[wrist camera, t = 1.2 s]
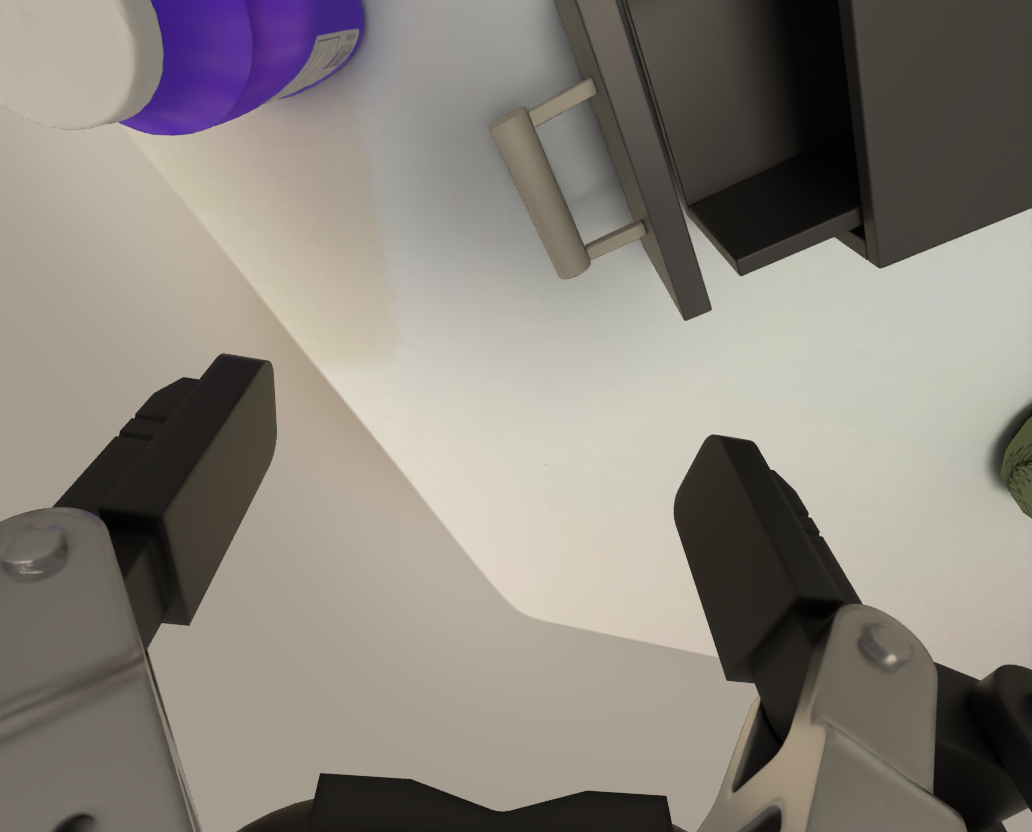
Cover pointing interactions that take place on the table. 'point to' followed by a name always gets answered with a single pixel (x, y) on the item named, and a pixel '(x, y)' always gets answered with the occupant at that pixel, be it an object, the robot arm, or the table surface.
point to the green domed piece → (1020, 467)
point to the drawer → (702, 133)
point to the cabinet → (937, 119)
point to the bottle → (166, 58)
